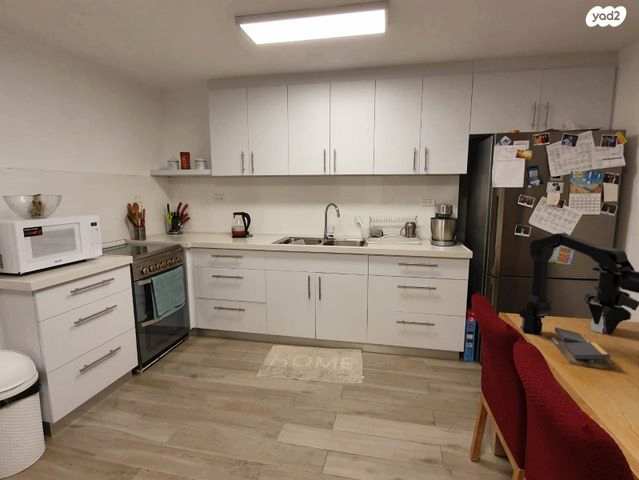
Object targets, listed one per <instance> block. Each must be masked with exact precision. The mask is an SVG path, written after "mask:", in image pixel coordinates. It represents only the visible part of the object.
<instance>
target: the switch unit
mask: <svg viewBox="0 0 639 480" xmlns="http://www.w3.org/2000/svg"><path fill="white" fill-rule="evenodd" d="M548 338H549V339H550V341H551V342H552V343H553V345H554V346H555V348H557V350H558V351H559V353H560V354H561V355H562V356H563V358H564V359H565V360H566V362H567V363H568V364H570V365H577V366H584V367H589V368H590V367H592V368H598V369H603V370H604V369H606V370H610V371H611V370H612V371H615V370H616V366H615V365H614V364H613V363H612V362H611V361H610V359H575V358H574V357H573V356H572V354H571V353H570V352H569V351H568V350H567V349H566V347H565V346H564V343H570V342H567V341H563V340H562V338H561V337H560V336H559V335H551V334H549V335H548Z"/></svg>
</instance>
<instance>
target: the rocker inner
mask: <svg viewBox="0 0 639 480" xmlns="http://www.w3.org/2000/svg"><path fill="white" fill-rule="evenodd" d="M554 331H555V333H556V334H557V336H560V337H561V338H562V340H563V341H567V342H570V343H573V342H592V340H590V339H589V338H588V337H587V336H586V334H584V333H580V332H576V331H573V330H569V329H568V330H567V329H565V328H561V327H557V326H555V328H554Z"/></svg>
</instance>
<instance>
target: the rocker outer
mask: <svg viewBox="0 0 639 480" xmlns="http://www.w3.org/2000/svg"><path fill="white" fill-rule="evenodd" d="M564 346H565V347H566V349H567V350H568V351H569V352H570V353H571V354H572V356H573V357H574V358H575V359H608V360H610V359H611V354H610V353H609V352H608V351H606V349H605V348H603V347H602V345H600V344H599V343H598V342H597V341H591V342H573V343H564Z"/></svg>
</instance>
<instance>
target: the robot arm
mask: <svg viewBox="0 0 639 480" xmlns="http://www.w3.org/2000/svg"><path fill="white" fill-rule="evenodd" d="M562 246H563V247H566V248H569V249H571V250H573V251H576V252H578V253H580V254H583V255H585V256H588V257H589V258H591V260H593V262H595V263H596V264H598V265H596V266H595V267H593V268H592V270H593V271H596V272H599V273H598V281H597V285H595V286H594V290H596V293H586V294H584V296H583V301H584V302H585V304H586V307H587V308H588V311H589V313H590V315H591V319H592V318H593V321H594V323H595V324H599V322H600V319H601V316H602V317H603V321H604V325H605V329H606V332H607V333H606V335H609V336H611V335H613V333H614V332H615V330H616V329H615V328H617V327H618V326H619V324H620V323H621V322H625V321H628V320H631V318H632V312H630V311H629V310H628V309H626V308H629V309H631V310H632V311H634V312H635V311H637V309H638V307H639V300H636V299H635V298H633V297H631V294H630V293H628V292H631V293H637V294H639V271H636V270H635V268H634V267H633V265H632V264H631V262H630V260H629V259H628V255H627V253H626V251H624V250H623V249H619V248H614V247H608V246H601V245H598V244H597V245H596V244H595V243H593V242H592V243H591V242H589V241H586V240H583V239H580V238H579V237H575V236H572V235H569V234H567V233H566V232H559V233H554V234H552V235H549V236H546V237H544V238H541V239H535V240H532V241H531V242H530V243H529V256H530V257H531V259H532V260H533V267H532V281H531V282H532V283H531V294H530V296H529V297H528V299H527V301H526V304H525V307H524V308H523V309H522V310H519V311H518V314H519V317H520V318H522V319H521V320H522V321H521V326H520V329H521V331H522V332H523V333H524V334H530V335H539V336H541V335H542V331H543V324H544V323H543V322H542V319H545V317H546V316H547V315H549V313H550V311H552V308H551V305H552V301H551V300H548V298H547V296H546V294H547V293H546V291H547V278H548V267H549V265H548V264H549V261H550V259H551V258H552V257H553V255H554V250H555V249H557V248H560V247H562ZM620 289H621V290H620ZM623 290H624V291H623ZM626 291H628V292H626ZM615 306H618V307H615ZM623 306H624V307H626V308H624V307H623ZM602 312H603V314H602Z"/></svg>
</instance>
